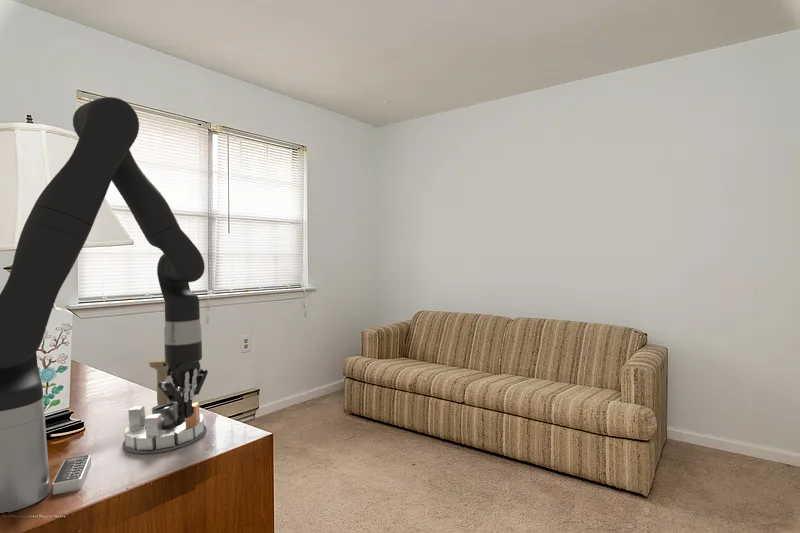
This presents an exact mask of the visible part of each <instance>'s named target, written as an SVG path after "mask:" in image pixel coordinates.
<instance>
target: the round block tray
mask: <svg viewBox="0 0 800 533" xmlns="http://www.w3.org/2000/svg"><path fill="white" fill-rule="evenodd" d="M171 402H174V404H176V405H177V422H178V426H177V427H174V428H172V429H167V430H162V415H161V414H152V413H150V414H148V415H147V416H146V411H145V410H146V408H145V405H136V406H135V405H134V406H132V407H130V408H129V409H128V424H129V425H127V427H125V430H124V440H125V445H126V446H128V447H130V448H132V449H136V448H137V450H153V449H154V448H156V449H161V448H166V447H171V446H175V444H178V445H179V444H182V443H184V442H187V441H189V440H192V439H193V438H196V437H197V436H198V435H199V434H200V433H202V432H203V430H204V425H205V424H204V423H205V422H204V415H203V414H202V413H200V402H192V415H191V416H190V417H188V418H186V419H183V418H180V417H179V416H178V403H177V402H176V401H170V400H169V399H167V403H171Z"/></svg>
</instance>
